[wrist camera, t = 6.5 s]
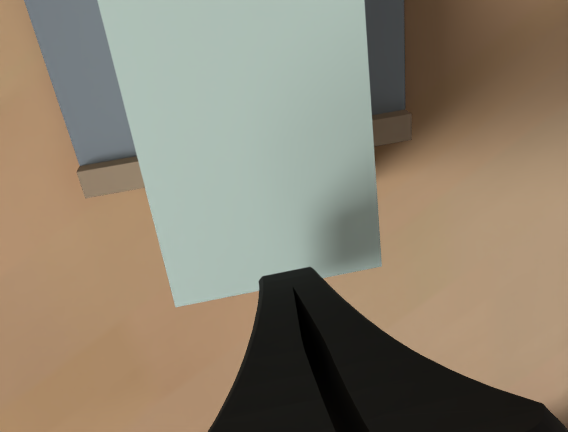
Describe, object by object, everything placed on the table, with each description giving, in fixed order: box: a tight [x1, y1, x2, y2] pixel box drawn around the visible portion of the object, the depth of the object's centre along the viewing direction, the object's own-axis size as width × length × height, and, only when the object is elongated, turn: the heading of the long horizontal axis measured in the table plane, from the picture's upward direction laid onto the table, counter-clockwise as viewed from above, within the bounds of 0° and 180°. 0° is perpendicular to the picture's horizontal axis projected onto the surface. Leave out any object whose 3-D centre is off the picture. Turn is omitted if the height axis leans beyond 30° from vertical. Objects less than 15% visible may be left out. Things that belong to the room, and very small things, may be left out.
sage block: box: [97, 0, 382, 307], centre depth 15 cm, size 5×6×10 cm
